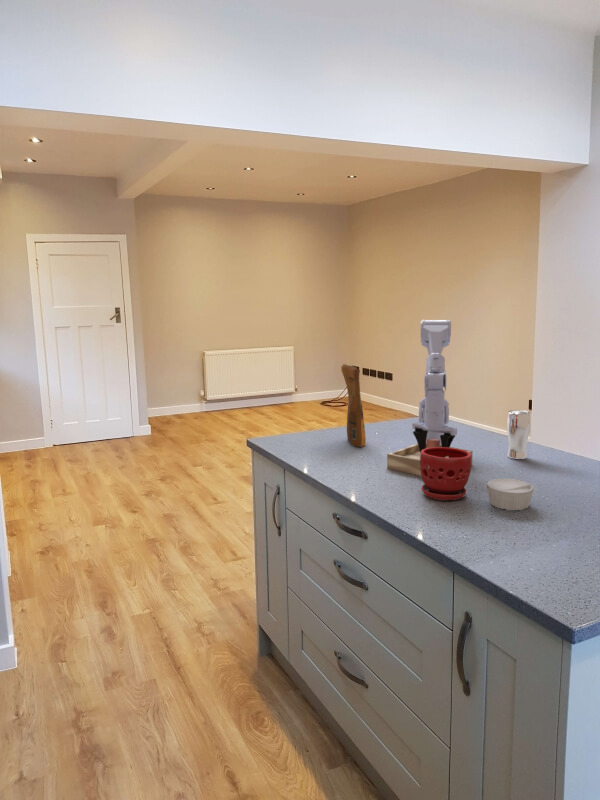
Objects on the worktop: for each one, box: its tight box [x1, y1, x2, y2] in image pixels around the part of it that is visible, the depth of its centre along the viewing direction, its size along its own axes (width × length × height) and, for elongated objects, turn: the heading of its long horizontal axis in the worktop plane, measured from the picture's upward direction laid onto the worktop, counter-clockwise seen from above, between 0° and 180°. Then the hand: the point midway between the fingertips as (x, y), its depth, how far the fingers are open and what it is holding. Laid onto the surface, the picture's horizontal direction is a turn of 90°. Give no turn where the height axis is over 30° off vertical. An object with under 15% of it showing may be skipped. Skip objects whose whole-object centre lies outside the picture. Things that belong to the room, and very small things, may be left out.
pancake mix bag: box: [341, 363, 367, 448], centre depth 219 cm, size 7×19×28 cm, turn 6°
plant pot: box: [420, 447, 473, 501], centre depth 162 cm, size 13×13×12 cm
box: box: [386, 442, 473, 477], centre depth 189 cm, size 20×18×4 cm
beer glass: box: [506, 409, 531, 459], centre depth 197 cm, size 7×7×15 cm
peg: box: [427, 439, 440, 448], centre depth 190 cm, size 4×4×8 cm
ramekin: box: [486, 478, 535, 511], centre depth 155 cm, size 11×11×5 cm
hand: (433, 454), depth 190 cm, fingers open, 7 cm apart
